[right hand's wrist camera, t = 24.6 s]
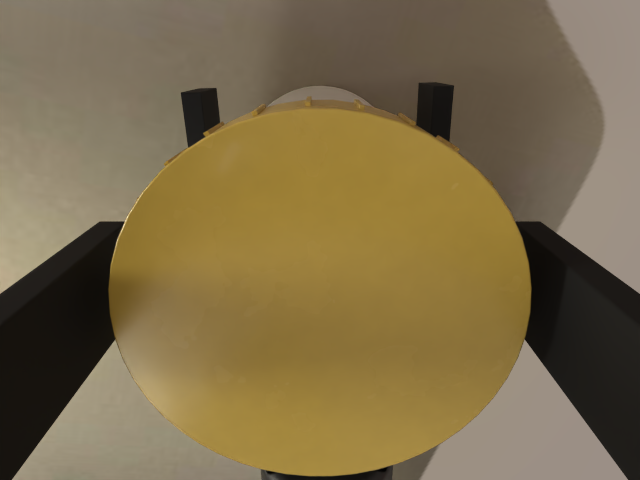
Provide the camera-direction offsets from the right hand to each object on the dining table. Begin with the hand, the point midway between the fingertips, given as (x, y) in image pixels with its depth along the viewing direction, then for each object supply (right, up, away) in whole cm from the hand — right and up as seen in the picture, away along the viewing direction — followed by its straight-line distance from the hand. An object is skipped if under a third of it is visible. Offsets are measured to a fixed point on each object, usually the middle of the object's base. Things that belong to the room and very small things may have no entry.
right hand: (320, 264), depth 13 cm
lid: (0, -1, -3) cm, 3 cm away
